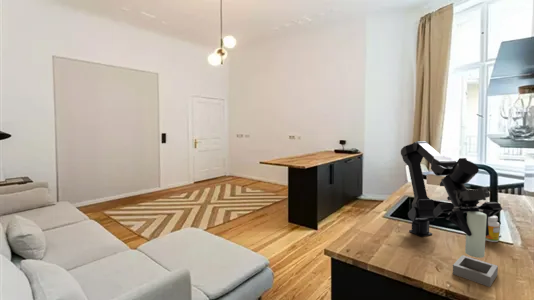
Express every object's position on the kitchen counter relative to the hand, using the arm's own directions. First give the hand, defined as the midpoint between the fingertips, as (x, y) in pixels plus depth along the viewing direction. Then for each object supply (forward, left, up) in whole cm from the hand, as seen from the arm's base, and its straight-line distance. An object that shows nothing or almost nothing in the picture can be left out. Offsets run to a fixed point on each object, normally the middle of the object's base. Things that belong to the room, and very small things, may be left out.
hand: (478, 235), depth 83 cm
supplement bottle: (-32, -16, -14) cm, 38 cm away
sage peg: (0, -1, -7) cm, 7 cm away
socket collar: (-1, -1, -13) cm, 13 cm away
